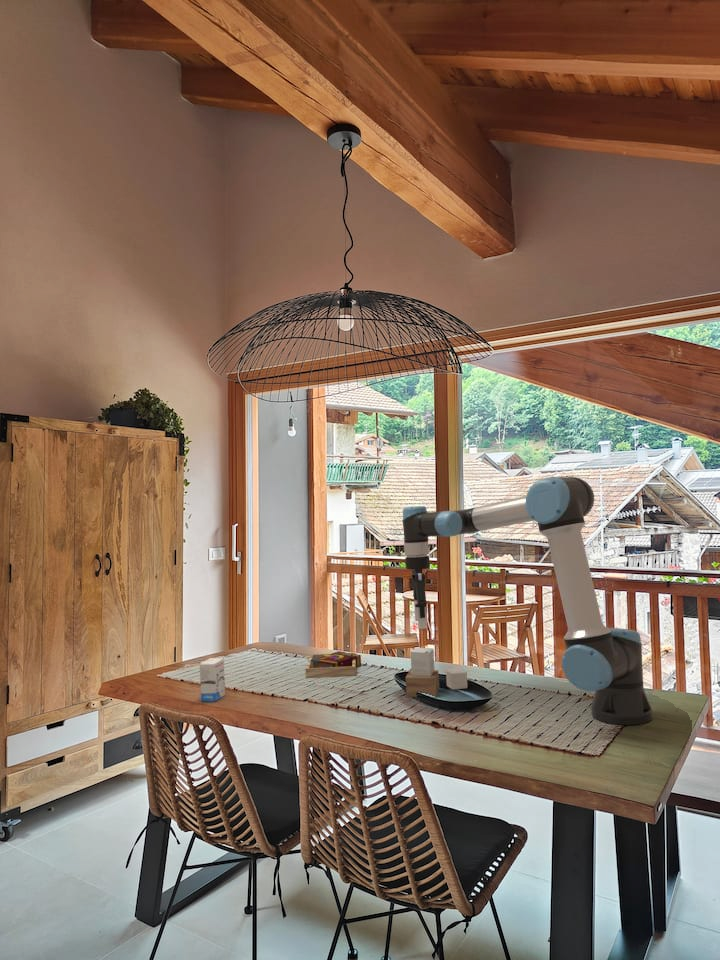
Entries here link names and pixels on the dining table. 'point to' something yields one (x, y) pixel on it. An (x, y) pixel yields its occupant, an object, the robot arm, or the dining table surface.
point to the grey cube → (456, 679)
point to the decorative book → (336, 660)
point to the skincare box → (422, 662)
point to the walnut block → (422, 684)
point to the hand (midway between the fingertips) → (421, 624)
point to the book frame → (329, 669)
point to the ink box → (212, 679)
